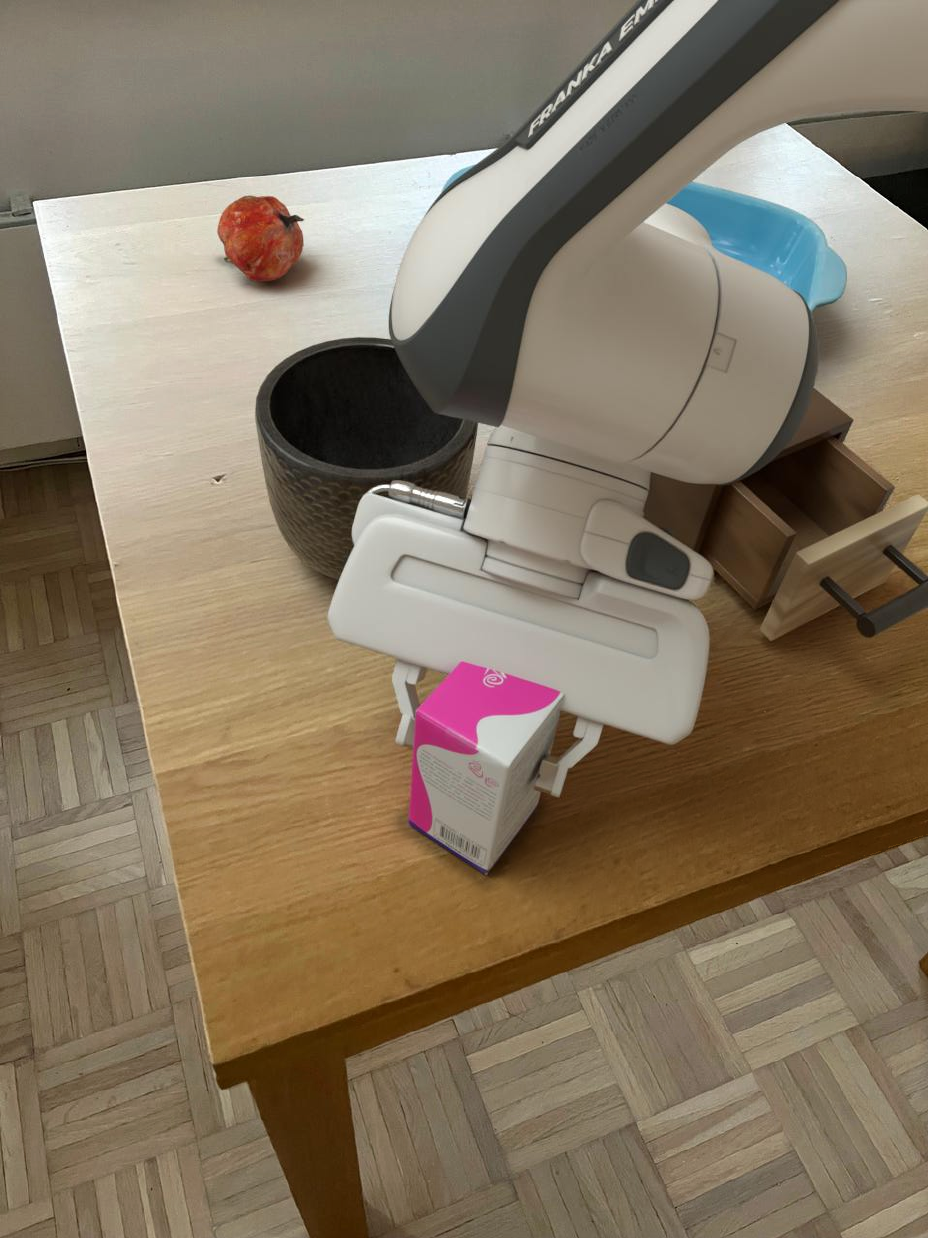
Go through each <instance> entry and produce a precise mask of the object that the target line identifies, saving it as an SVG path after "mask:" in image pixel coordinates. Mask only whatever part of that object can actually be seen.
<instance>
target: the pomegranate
mask: <svg viewBox="0 0 928 1238" xmlns="http://www.w3.org/2000/svg"><path fill="white" fill-rule="evenodd" d="M305 220H306V219H305V218H303V217H300V216H299V215H298V214H293V215H291V213H290V211H289V210H288V208H287V206H286V205H285V204H284V203H283V202H281V201H280V200H279V199H278V198H276V197H275V196H273V195H272V196H271V195H261V196H260V195H259V196H256V195H251V194H249V195H243V196H242V197H240V198H238V199H236V200H234V201H233V202H232V203H230V204H228V205H227V206H226V208H225V209H224V210H223V211H222V213H221V215H220V218H219V220H218V225H217V230H216V232H217V236H218V238H219V240H220V242H221V243H222V244H223V251H224V254H225V257H224V258H223V260H224V262H227V261H228V260H229V262H231V263H232V264H233V266H235V267H236V268H237V269H238V270H239V271H240V272H242V273H243V274H244V275H245V276H246V278H247V279H248V280H251V281H255V282H270V281H276V280H278V279H280V278H282V277H284V276H285V275H286V274H287V273H288V272H289V271H290V269H291V268H292V267H293V266H294V265H295V264H297V262H298V261H299V260H300V257H301V255H302V254H303V249H304V246H305V245H304V234H303V230H302V229H301V227H300V225H299V222H303V221H305Z"/></svg>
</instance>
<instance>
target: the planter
mask: <svg viewBox="0 0 928 1238" xmlns="http://www.w3.org/2000/svg"><path fill="white" fill-rule="evenodd" d="M254 409H255V410H254V420H255V427H256V435H257V440H258V447H259V453H260V459H261V465H262V469H263V471H262V472H263V476H264V482H265V487H266V491H267V497H268V500H269V504H270V508H271V510H272V514H273V516H274V520H275V522H276V525H277V527H278V529H279V532H280V534H281V536H282V537H283V539H284V541H285V542H286V544H287V546H288V547H289V549H290V550H291V551H292V552H293V554H295V555H296V556H297V557H298V558H299V559H300V560H301V561H302V562H303V563H305V564H306V565H307V566H309V567H310V568H311V569H312V570H314V571H316V572H318V573H320V574H322V575H324V576H325V577H328V578H330V579H334V580H337V581H339V579H340V577H341V574H342V572H343V569H344V567H345V565H346V562H347V560H348V558H349V556H350V554H351V552H352V550H353V548H354V544H353V541H352V536H351V532H352V525H353V522H354V518H355V514H356V511H357V507H358V504H359V502H360V500H361V498H362V497H363V495H364V494H365V493H366V492H367V491H368V490H370V489H371V488H373V487H375V486H378V485H382V484H391V482H392V481H393V480H403V481H407V482H411V483H414V484H416V485H417V486H419V487H422V488H425V489H428V490H433V491H438V492H439V491H441V492H446V493H449V494H453V495H456V496H460V497H464V498H467V494H468V489H469V486H470V485H469V484H470V479H471V474H472V468H473V462H474V457H475V450H476V442H477V437H478V436H477V435H478V429H479V427H478V426H479V423H477V422H472V421H468V420H464V419H459V418H455V417H450V416H446V415H441V414H437V413H435V412H433V410H432V409H431V408H430V406H429V405H428V404H427V402H426V401H425V400H424V398H423V397H422V396H421V394H420V393H419V391H418V390H417V388H416V387H415V385H414V384H413V382H412V380H411V379H410V377H409V375H408V374H407V372H406V370H405V368H404V367H403V365H402V363H401V361H400V359H399V357H398V354H397V352H396V350H395V348H394V346H393V343H392V341H391V338H382V337H373V336H371V337H370V336H357V337H356V336H355V337H345V338H343V337H342V338H338V339H337V338H336V339H332V340H326V341H323V342H320V343H316V344H312V345H310V346H308V347H305V348H302V349H300V350H298V351H296V352H294V353H293V354H291V355H289V356H288V357H285V358H284V359H283V360H282V361H280V362H279V363H278V364H277V365H275V366H274V368H273V369H271V370H270V372H269V373H268V374H267V375H266V376H265V378H264V379H263V381H262V382H261V385H260V386H259V389H258V392H257V395H256V398H255V408H254ZM376 495H380V496H383V497H387V498H390V499H393V498H391V497H390V496H389V494H388V491H386V492H380V493H378V494H376ZM394 500H395V499H394ZM411 505H414V506H418V507H421V508H424V509H428V510H431V509H429V508H426V507H423V506H420V505H417V504H413V503H412V504H411ZM431 511H433V510H431ZM435 512H436V511H435Z"/></svg>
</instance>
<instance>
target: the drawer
mask: <svg viewBox="0 0 928 1238" xmlns="http://www.w3.org/2000/svg"><path fill="white" fill-rule="evenodd" d="M895 487H896V486H895V485H894V484H893V483H892V482H890V481H889V480H888V479H887V478H885V477H884V475H882V474H880V473H879V472H878V471H877V470H876V469H874V468H873V467H872V466H871V465H870V464H869V463H867V462H866V461H864V460H863V459H862V458H861V457H860V456H859V455H857V454H856V453H855V452H854V451H852V450H851V449H850V448H849V447H848V446H846V444H844V442H843V443H841V442H840V441H839V440H838V439H837V438H835V437H834V436H830V437H828V438H826V439H823V440H821V441H819V442H816V443H814V444H812V445H809V446H807V447H805V448H802V449H800V450H798V451H795V452H793V453H791V454H788V455H786V456H784V457H781V458H779V459H777V460H774V461H772V462H769V463H768V464H767V465H765V466H764V467H763V468H761V469H760V470H758V471H757V472H755V473H753V474H752V475H750V476H748V477H746V478H744V479H742V480H739V481H737V482H734V483H732V484H729V485H723V488H722V490H721V493H720V496H719V498H718V501H717V504H716V507H715V509H714V512H713V515H712V517H711V520H710V523H709V526H708V528H707V531H706V534H705V537H704V539H703V542H702V545H701V547H700V550H699V554H700V555H701V556H703V557H704V558H705V559H706V560H708V561H709V562H710V563H711V565H712V567H713V569H714V571H716V572H717V574H718V575H719V576H721V577H722V579H723V580H725V581H726V582H727V583H728V585H730V587H732V588H733V589H734V590H735V591H736V593H738V595H739V596H740V597H742V599H744V601H746V603H747V604H749V606H751V608H753V610H758V609H760V608H761V607H763V606H765V605H766V606H767V604H770V603H771V604H770V607H769V609H768V611H767V613H766V615H765V617H764V619H763V621H762V623H761V625H760V628H759V631H760V632H761V633H762V634H763V635H764V636H765V637H766V638H767V639H768V640H769V641H770V642H773V641H775V640H776V639H778V638H780V637H782V636H785V635H786V634H788V633H789V632H792V631H793V630H795V629H798V628H800V627H801V626H803V625H806V624H807V623H809V622H811V621H813V620H816V619H817V618H818V617H820V616H823V615H824V614H826V613H828V612H830V611H832V610H834V609H836V608H837V607H839V606H841V607H842V608H843V609H844V610H845V611H846V612H848V614H849V615H850V616H852V618H853V619H855V620H856V622H855V626H856V629H857V631H858V633H859V634H860V635H861V636H863V637H864V638H866V639H871V638H873V637H875V636H877V635H880V634H881V633H883V632H885V631H886V630H888V629H890V628H892V627H894V626H895V625H897V624H899V623H901V622H903V621H904V620H907V619H909V618H910V617H913V616H915V614H918V613H920V612H922V611H923V610H925V609H927V608H928V575H927V574H926V573H925V572H924V571H923V570H921V569H920V567H918V566H917V565H916V564H914V563H913V561H911V560H910V559H909V558H907V556H905V555H904V554H903V553H904V551H905V550H906V548H907V547H908V544H909V543H910V541H911V540H912V539H913V536H914V534H915V533H916V531H917V530H918V528H919V526H920V525H921V523H922V521H923V519H924V518H925V516H926V514H927V513H928V500H927V499H925V498H924V497H923V496H921V494H919V493H917V494H915V495H913V496H910V497H908V498H907V499H904V500H902V501H899V502H898V503H896V504H894V505H892V506H890V507H888V508H885V507H886V505H887V503H888V501H889V499H890V497H891V495H892V494H893V492H894V490H895ZM896 566H897V568H898V569H900V570H901V571H902V572H903V573H904V574H906V575H907V576H908V577H909V578H910V579H911V580H913V581H914V582H915V583H916V584H917V585H916V586H915V587H913V588H910V589H908V590H906V591H904V592H903V593H900V594H899V595H898V596H896V597H894V598H892V599H890V600H888V601H886V602H884V603H882V604H880V605H879V606H877V607H875V608H873V609H871V610H869V611H867V610H866V609H865V608H864V607H863V606H862V605H860V603H858V602H857V601H856V600H855V598H857V597H859V596H861V595H863V594H864V593H866V592H868V591H871V590H873V589H874V588H876V587H878V586H880V585H882V584H884V583H886V582H887V580H888V579H889V576H890V575H891V573H892V572H893V570H894V568H895V567H896Z"/></svg>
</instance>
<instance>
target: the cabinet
mask: <svg viewBox="0 0 928 1238" xmlns="http://www.w3.org/2000/svg"><path fill="white" fill-rule="evenodd" d="M853 422H854V418H853V417H851V416H850V415H849V414H848V413H846V412H845V411H844V410H842V408H840V407H839V406H838V405H836V404H835V403H834V402H833V401H831V400H830V399H829V398H827V397H826V395H824V394H823V393H821V392H820V391H819V390H817V388H815V387H814V389H813V392H812V396H811V399H810V402H809V405H808V408H807V411H806V413H805V416H804V418H803V420H802V422H801V424H800V426H799V428H798V430H797V431H796V433H795V435H794V436H793V438H792V439H791V441H790V442H789V443H788V444H787V446H786V447H785V448H784V449H783V450H782V451H781V452H780V453H779V454H778V455H777V456H776V457H775V458H774V459H773V460H772V461H774V460H777V459H779V458H781V457H784V456H786V455H788V454H791V453H793V452H795V451H798V450H800V449H802V448H805V447H807V446H809V445H812V444H814V443H816V442H819V441H821V440H823V439H826V438H828V437H830V436H834V437H835V438H837V439H838V440H839V441H840V442H841V443H843V444H844V443H845V439H846V438H847V436H848V434H849V431H850V428H851V427H852V425H853ZM772 461H771V462H772ZM722 488H723V486H720V485H715V484H695V483H687V482H683V481H679V480H676V479H673V478H669V477H666V476H663V475H660V474H656V473H653V472H651V475H650V485H649V491H648V496H647V499H646V502H645V506H644V509H643V512H644V516H643V518H644V519H646V520H647V521H649V522H650V523H652V524H654V525H655V526H657V527H659V526H662V527H664V528H665V529H668V530H669V531H670V532H671V533H673V534H674V538H675V539H677V540H678V541H680V542H681V543H683V544H684V545H686V546H688V547H689V548H691V549H692V550H694V551H695V552H697V553H698V554H699V550H700V547H701V545H702V542H703V539H704V537H705V534H706V531H707V528H708V526H709V523H710V520H711V517H712V515H713V512H714V509H715V507H716V504H717V501H718V498H719V496H720V493H721V490H722Z"/></svg>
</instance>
